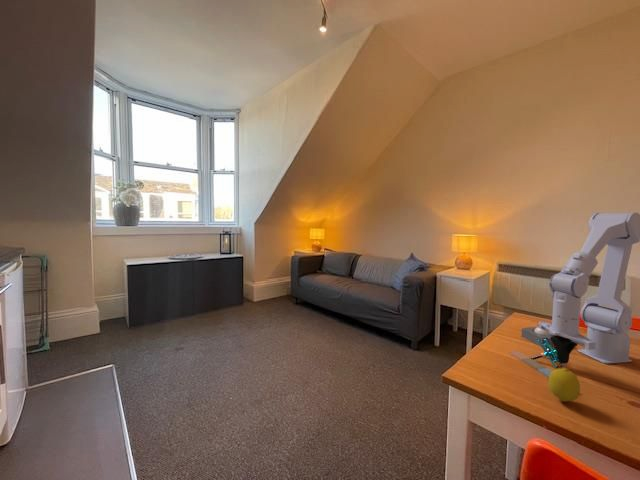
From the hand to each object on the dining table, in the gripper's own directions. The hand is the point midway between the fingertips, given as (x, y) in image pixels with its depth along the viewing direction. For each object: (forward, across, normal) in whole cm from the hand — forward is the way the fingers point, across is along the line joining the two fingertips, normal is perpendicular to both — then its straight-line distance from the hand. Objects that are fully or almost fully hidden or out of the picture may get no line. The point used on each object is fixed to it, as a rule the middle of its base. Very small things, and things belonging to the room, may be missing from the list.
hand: (562, 362), depth 80 cm
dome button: (+1, -16, +10) cm, 19 cm away
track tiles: (+1, -2, -7) cm, 8 cm away
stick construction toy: (+2, -3, -2) cm, 4 cm away
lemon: (+2, +13, -14) cm, 20 cm away
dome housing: (+1, -16, +10) cm, 19 cm away
